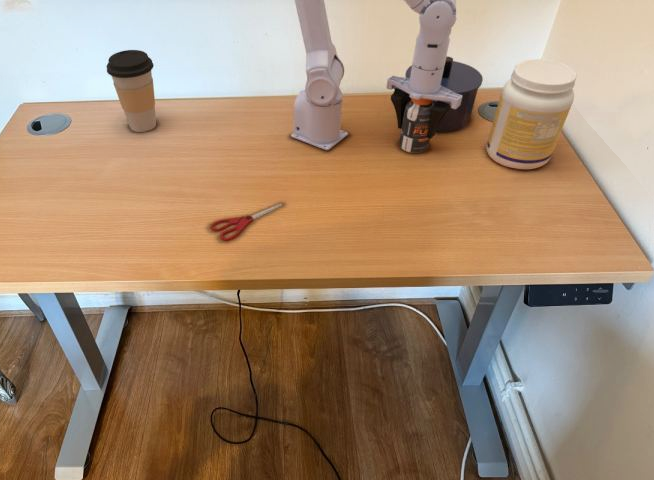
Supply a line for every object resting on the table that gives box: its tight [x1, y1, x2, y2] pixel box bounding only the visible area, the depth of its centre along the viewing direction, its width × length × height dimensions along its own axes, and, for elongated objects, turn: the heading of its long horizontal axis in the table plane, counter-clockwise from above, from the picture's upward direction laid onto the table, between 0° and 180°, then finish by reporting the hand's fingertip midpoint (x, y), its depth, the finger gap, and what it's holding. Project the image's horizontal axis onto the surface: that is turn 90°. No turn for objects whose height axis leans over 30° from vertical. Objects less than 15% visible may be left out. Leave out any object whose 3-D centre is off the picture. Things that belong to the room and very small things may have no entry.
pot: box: [411, 88, 479, 134], centre depth 115 cm, size 15×15×8 cm
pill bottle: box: [398, 98, 435, 154], centre depth 105 cm, size 6×6×11 cm
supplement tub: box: [485, 58, 578, 170], centre depth 100 cm, size 12×12×17 cm
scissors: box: [210, 203, 283, 242], centre depth 94 cm, size 5×14×1 cm, turn 125°
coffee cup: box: [106, 49, 157, 133], centre depth 113 cm, size 9×9×15 cm
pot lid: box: [404, 56, 484, 95], centre depth 110 cm, size 16×16×5 cm
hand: (416, 131), depth 107 cm, fingers closed on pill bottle, 6 cm apart
